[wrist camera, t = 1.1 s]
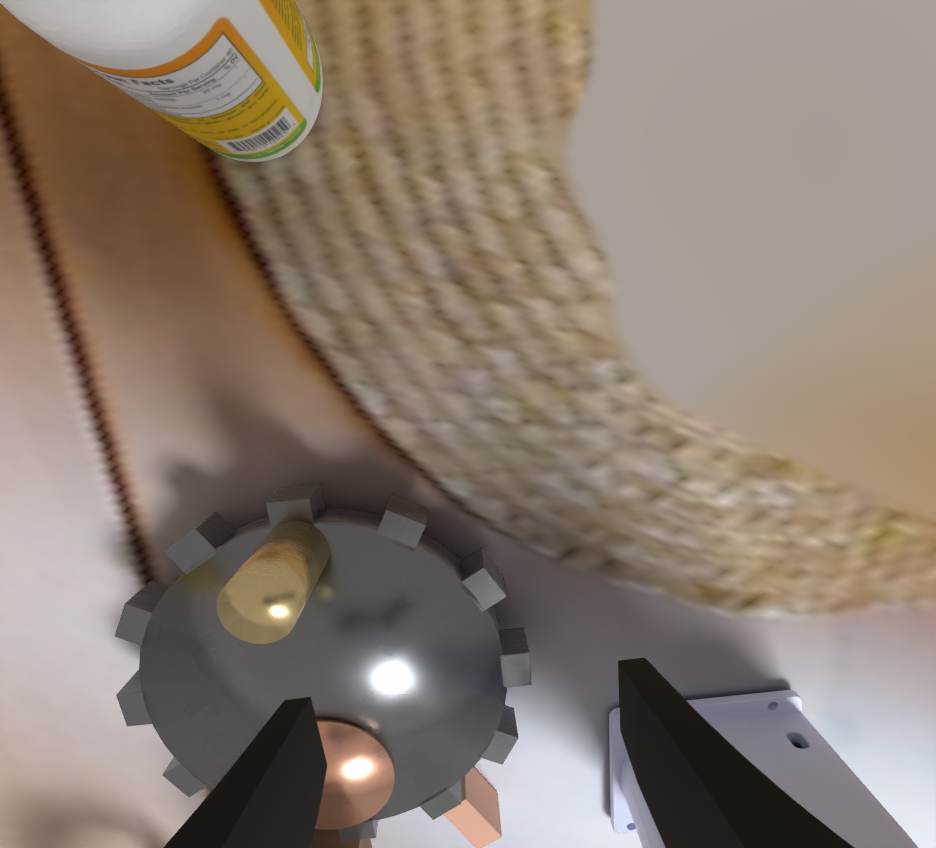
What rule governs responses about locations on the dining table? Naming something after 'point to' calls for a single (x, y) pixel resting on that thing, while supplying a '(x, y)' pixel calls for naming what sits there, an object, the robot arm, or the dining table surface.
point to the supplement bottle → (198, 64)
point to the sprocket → (329, 654)
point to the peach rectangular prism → (477, 810)
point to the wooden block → (335, 840)
